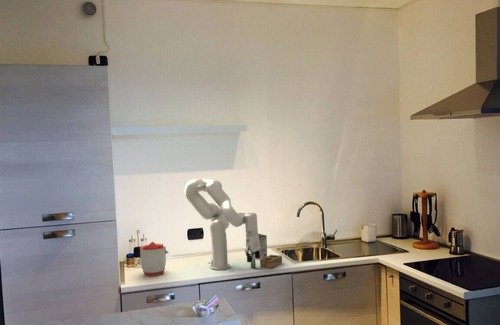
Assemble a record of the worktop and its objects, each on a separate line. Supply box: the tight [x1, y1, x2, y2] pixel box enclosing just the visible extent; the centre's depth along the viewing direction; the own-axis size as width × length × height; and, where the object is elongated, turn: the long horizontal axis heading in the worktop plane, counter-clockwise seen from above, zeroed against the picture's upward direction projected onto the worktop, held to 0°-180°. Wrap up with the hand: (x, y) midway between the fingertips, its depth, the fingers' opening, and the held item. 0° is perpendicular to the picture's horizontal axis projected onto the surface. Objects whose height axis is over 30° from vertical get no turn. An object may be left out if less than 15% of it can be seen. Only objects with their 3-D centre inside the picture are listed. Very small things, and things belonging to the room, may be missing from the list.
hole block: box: [259, 254, 283, 270], centre depth 295 cm, size 8×14×5 cm, turn 149°
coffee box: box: [255, 233, 268, 261], centre depth 314 cm, size 9×6×16 cm
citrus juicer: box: [139, 241, 169, 277], centre depth 288 cm, size 16×17×20 cm
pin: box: [250, 252, 256, 269], centre depth 291 cm, size 3×3×10 cm
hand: (253, 260), depth 291 cm, fingers open, 9 cm apart
